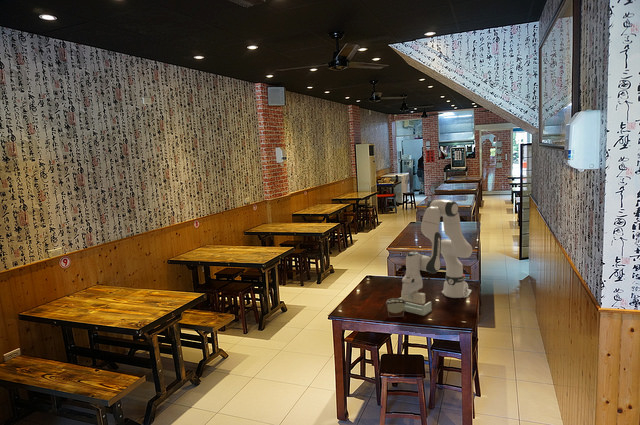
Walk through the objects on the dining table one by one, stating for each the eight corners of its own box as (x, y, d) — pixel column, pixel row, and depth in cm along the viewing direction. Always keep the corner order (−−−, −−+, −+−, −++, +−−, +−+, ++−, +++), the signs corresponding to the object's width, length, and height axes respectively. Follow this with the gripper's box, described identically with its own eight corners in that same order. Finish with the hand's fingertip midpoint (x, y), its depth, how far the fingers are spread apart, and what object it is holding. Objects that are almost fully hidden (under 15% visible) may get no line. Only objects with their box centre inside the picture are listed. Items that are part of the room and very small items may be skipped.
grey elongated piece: (403, 304, 287) (403, 295, 286) (431, 310, 273) (431, 301, 272) (395, 308, 279) (395, 299, 279) (423, 315, 266) (423, 306, 265)
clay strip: (404, 298, 282) (404, 289, 281) (425, 302, 272) (425, 293, 271) (401, 299, 279) (401, 290, 278) (422, 304, 269) (422, 295, 268)
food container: (403, 312, 272) (403, 297, 271) (406, 316, 266) (405, 300, 265) (384, 313, 272) (384, 298, 271) (386, 317, 266) (386, 301, 265)
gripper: (416, 272, 283) (416, 292, 285) (400, 280, 268) (400, 301, 270) (425, 274, 279) (425, 294, 281) (409, 281, 264) (409, 303, 266)
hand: (413, 298), depth 275 cm, fingers closed on clay strip, 4 cm apart
